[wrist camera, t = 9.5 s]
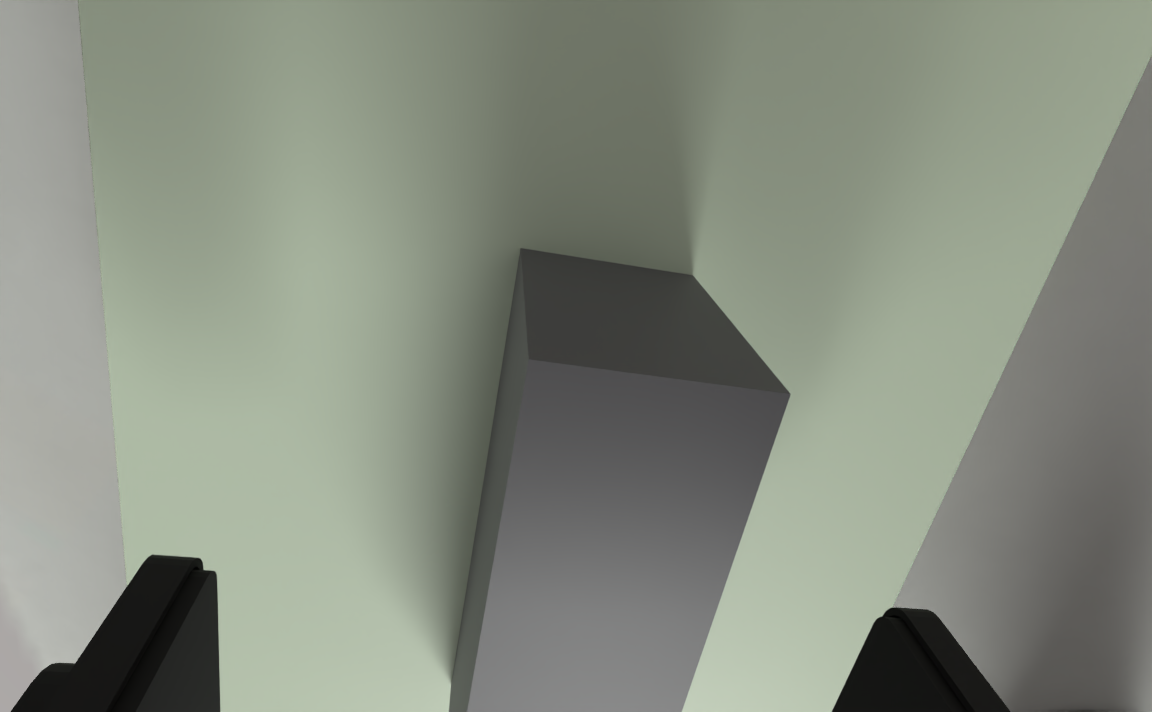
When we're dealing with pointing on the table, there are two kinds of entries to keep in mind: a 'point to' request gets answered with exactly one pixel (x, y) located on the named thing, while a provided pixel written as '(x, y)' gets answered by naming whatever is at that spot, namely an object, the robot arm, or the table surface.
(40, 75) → the table surface
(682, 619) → the toolbox lid
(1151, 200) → the table surface
